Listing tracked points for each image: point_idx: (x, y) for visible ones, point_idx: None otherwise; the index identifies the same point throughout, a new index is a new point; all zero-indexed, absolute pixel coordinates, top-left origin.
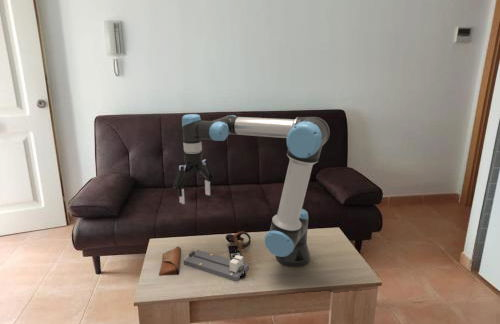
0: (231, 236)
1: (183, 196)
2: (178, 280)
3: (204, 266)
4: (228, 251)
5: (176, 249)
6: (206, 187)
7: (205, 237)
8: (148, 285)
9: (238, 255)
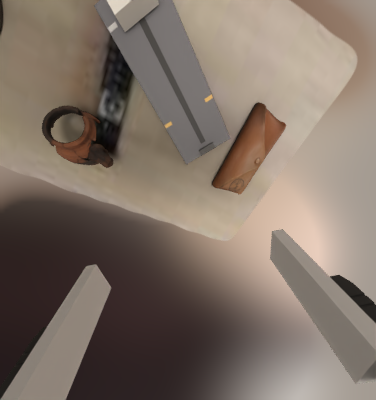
0: (96, 151)
1: (315, 270)
2: (267, 81)
3: (204, 81)
4: (122, 133)
5: (229, 177)
6: (81, 331)
7: (147, 209)
8: (319, 101)
9: (110, 5)
